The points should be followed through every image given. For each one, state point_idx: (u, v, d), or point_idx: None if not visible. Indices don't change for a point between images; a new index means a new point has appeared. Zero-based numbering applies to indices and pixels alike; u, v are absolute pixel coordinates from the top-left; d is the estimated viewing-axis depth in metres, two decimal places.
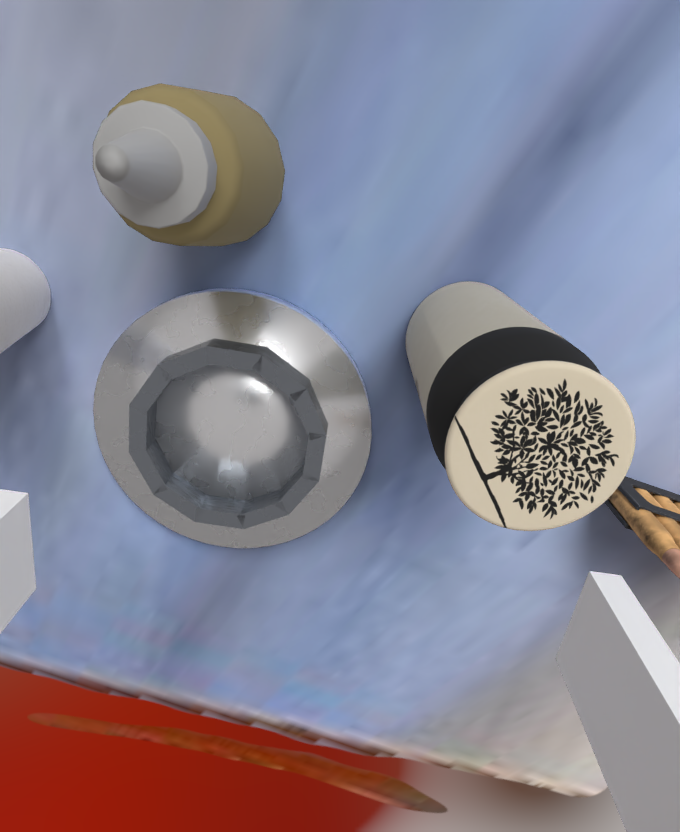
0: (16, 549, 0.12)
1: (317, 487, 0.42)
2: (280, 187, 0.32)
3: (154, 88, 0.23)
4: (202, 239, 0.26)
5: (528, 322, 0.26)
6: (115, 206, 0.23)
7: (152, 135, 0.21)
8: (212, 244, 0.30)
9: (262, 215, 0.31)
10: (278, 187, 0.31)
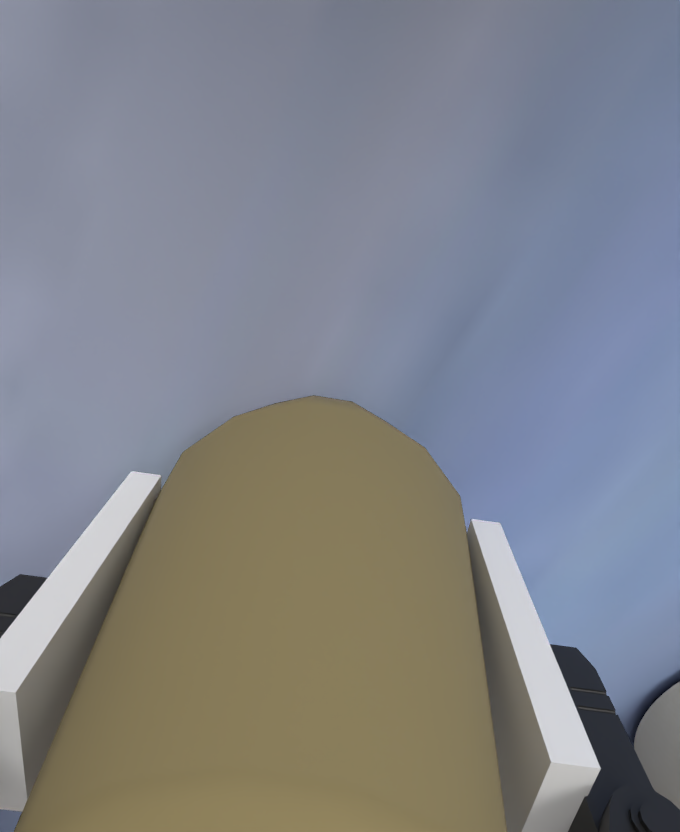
0: None
1: None
2: None
3: (205, 792, 0.06)
4: None
5: None
6: None
7: None
8: None
9: None
10: None
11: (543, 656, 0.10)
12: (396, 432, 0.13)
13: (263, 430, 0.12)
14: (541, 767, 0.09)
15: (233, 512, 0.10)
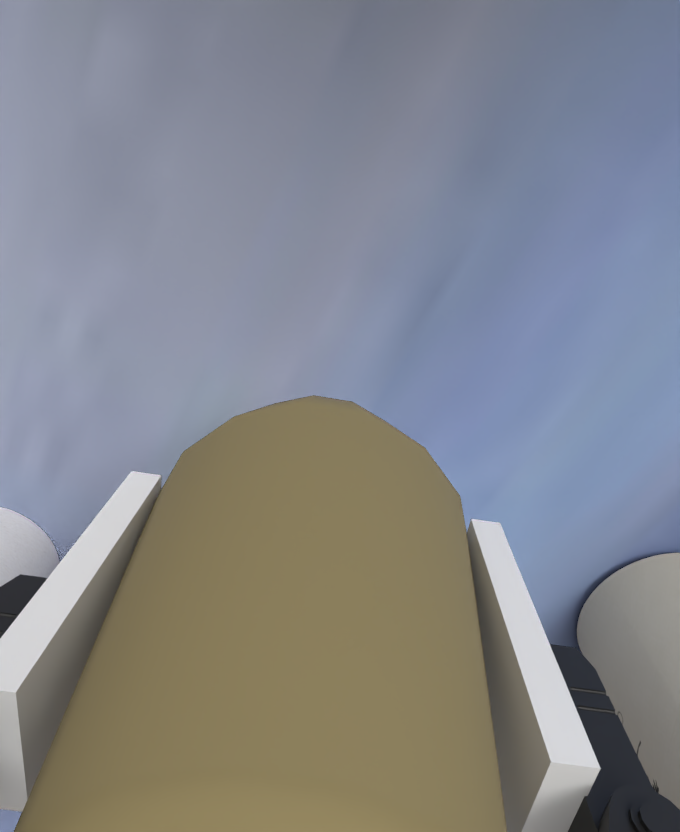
0: None
1: None
2: None
3: (205, 792, 0.06)
4: None
5: None
6: None
7: None
8: None
9: None
10: None
11: (543, 656, 0.10)
12: (396, 432, 0.13)
13: (263, 430, 0.12)
14: (541, 767, 0.09)
15: (233, 512, 0.10)
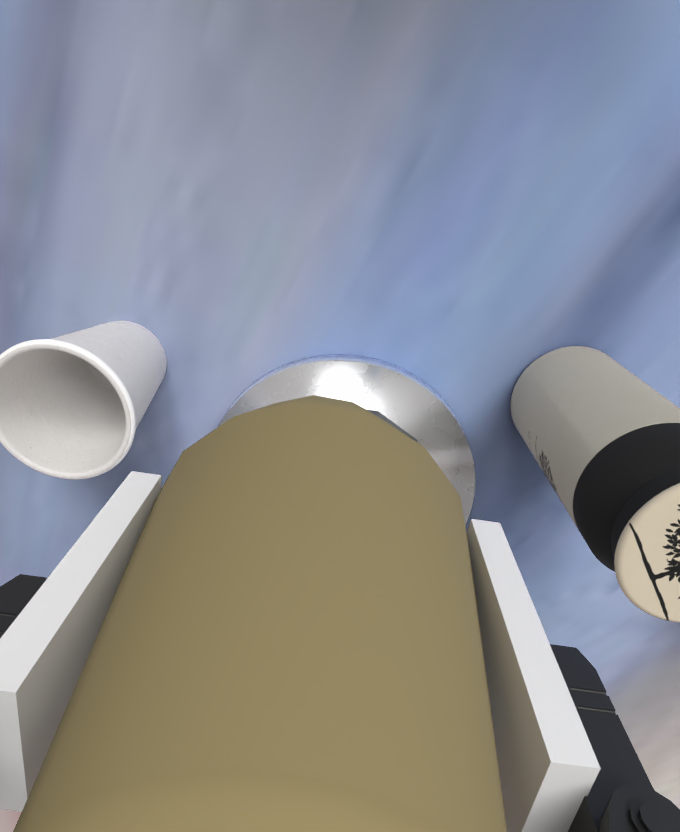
0: None
1: None
2: None
3: (205, 791, 0.06)
4: None
5: (674, 414, 0.27)
6: None
7: None
8: None
9: None
10: None
11: (543, 656, 0.10)
12: (396, 432, 0.13)
13: (263, 430, 0.12)
14: (541, 767, 0.09)
15: (233, 512, 0.10)
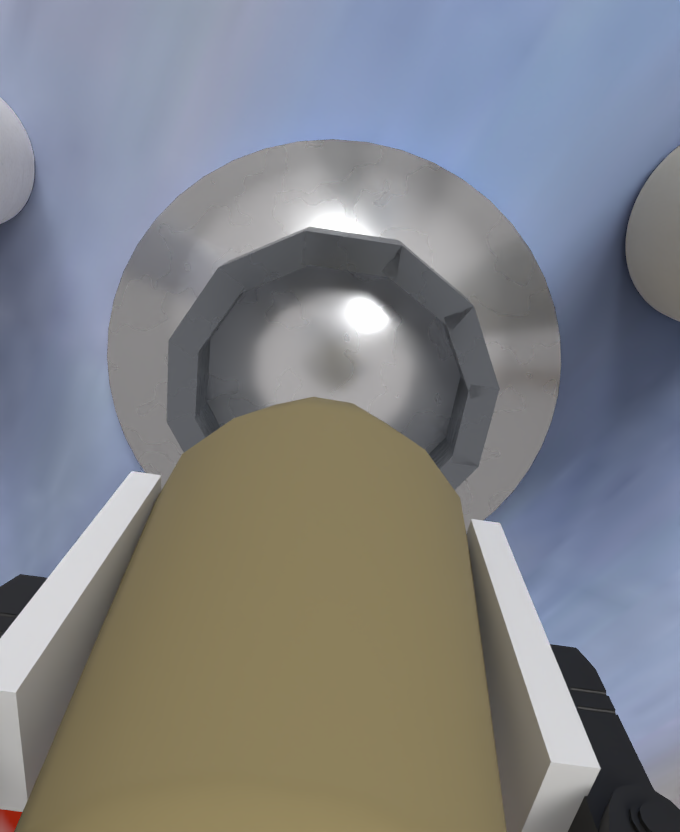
0: None
1: None
2: None
3: (204, 797, 0.06)
4: None
5: None
6: None
7: None
8: None
9: None
10: None
11: (543, 656, 0.10)
12: (396, 434, 0.13)
13: (263, 431, 0.12)
14: (541, 767, 0.09)
15: (232, 515, 0.10)
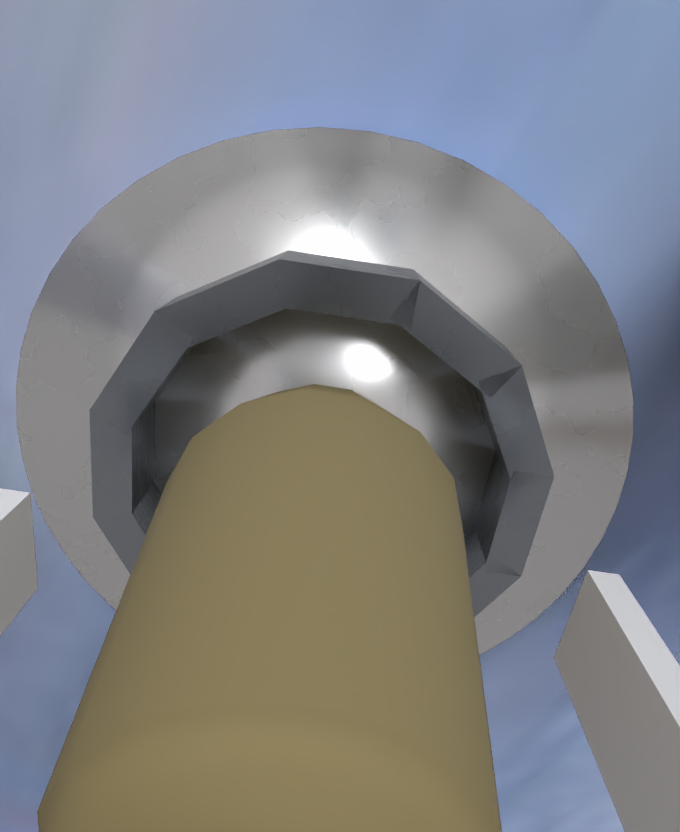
0: (18, 548, 0.12)
1: None
2: None
3: (227, 723, 0.07)
4: None
5: None
6: None
7: None
8: None
9: None
10: None
11: None
12: (393, 417, 0.14)
13: (268, 416, 0.13)
14: None
15: (243, 490, 0.10)
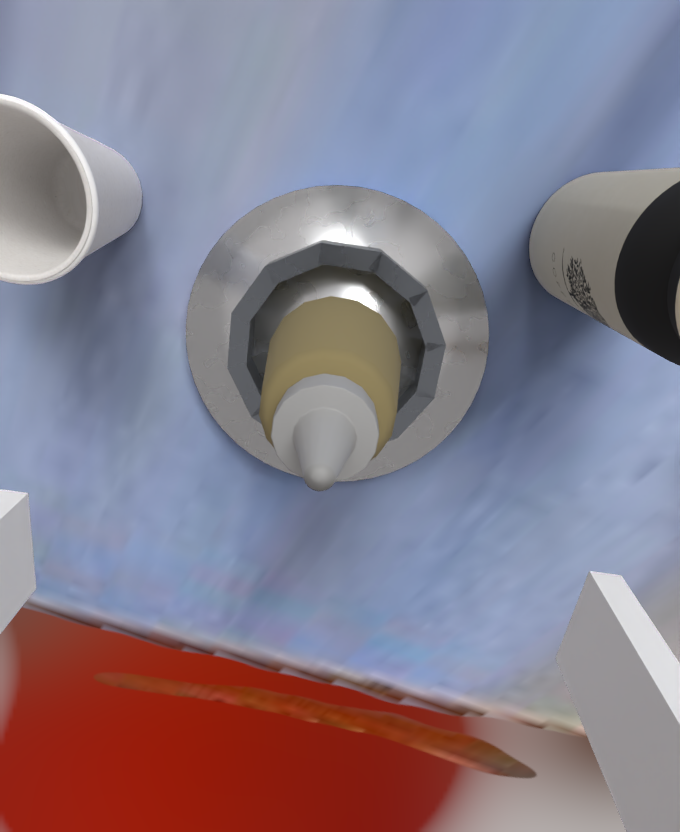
0: (16, 549, 0.12)
1: (425, 410, 0.39)
2: None
3: (319, 351, 0.25)
4: None
5: None
6: (288, 467, 0.25)
7: (335, 421, 0.23)
8: None
9: None
10: None
11: None
12: (369, 308, 0.33)
13: (317, 303, 0.32)
14: None
15: (312, 319, 0.29)
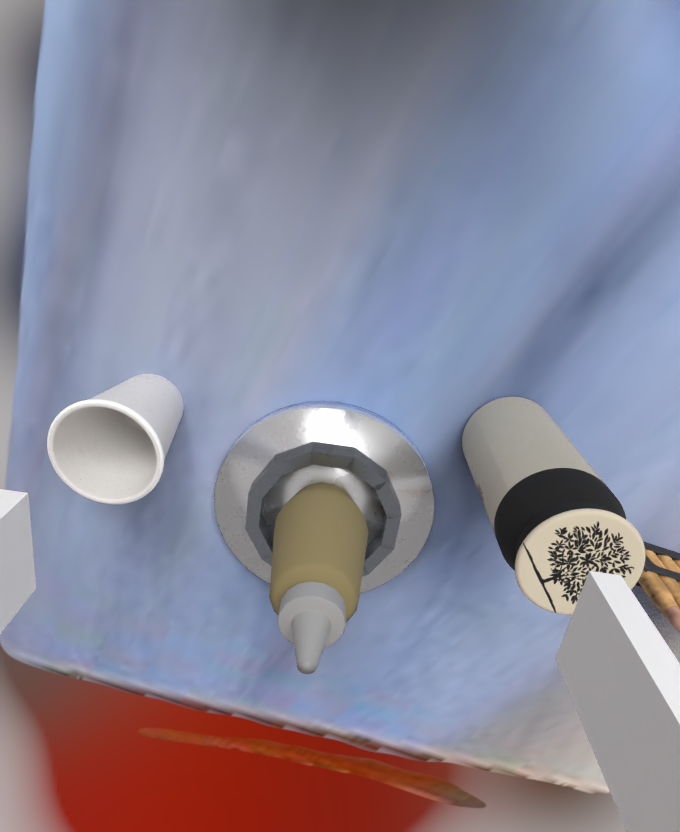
0: (16, 549, 0.12)
1: None
2: None
3: (308, 563, 0.39)
4: None
5: (567, 460, 0.37)
6: (288, 640, 0.39)
7: (317, 620, 0.37)
8: None
9: None
10: None
11: None
12: (345, 498, 0.47)
13: (309, 499, 0.46)
14: None
15: (305, 522, 0.43)
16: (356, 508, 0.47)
